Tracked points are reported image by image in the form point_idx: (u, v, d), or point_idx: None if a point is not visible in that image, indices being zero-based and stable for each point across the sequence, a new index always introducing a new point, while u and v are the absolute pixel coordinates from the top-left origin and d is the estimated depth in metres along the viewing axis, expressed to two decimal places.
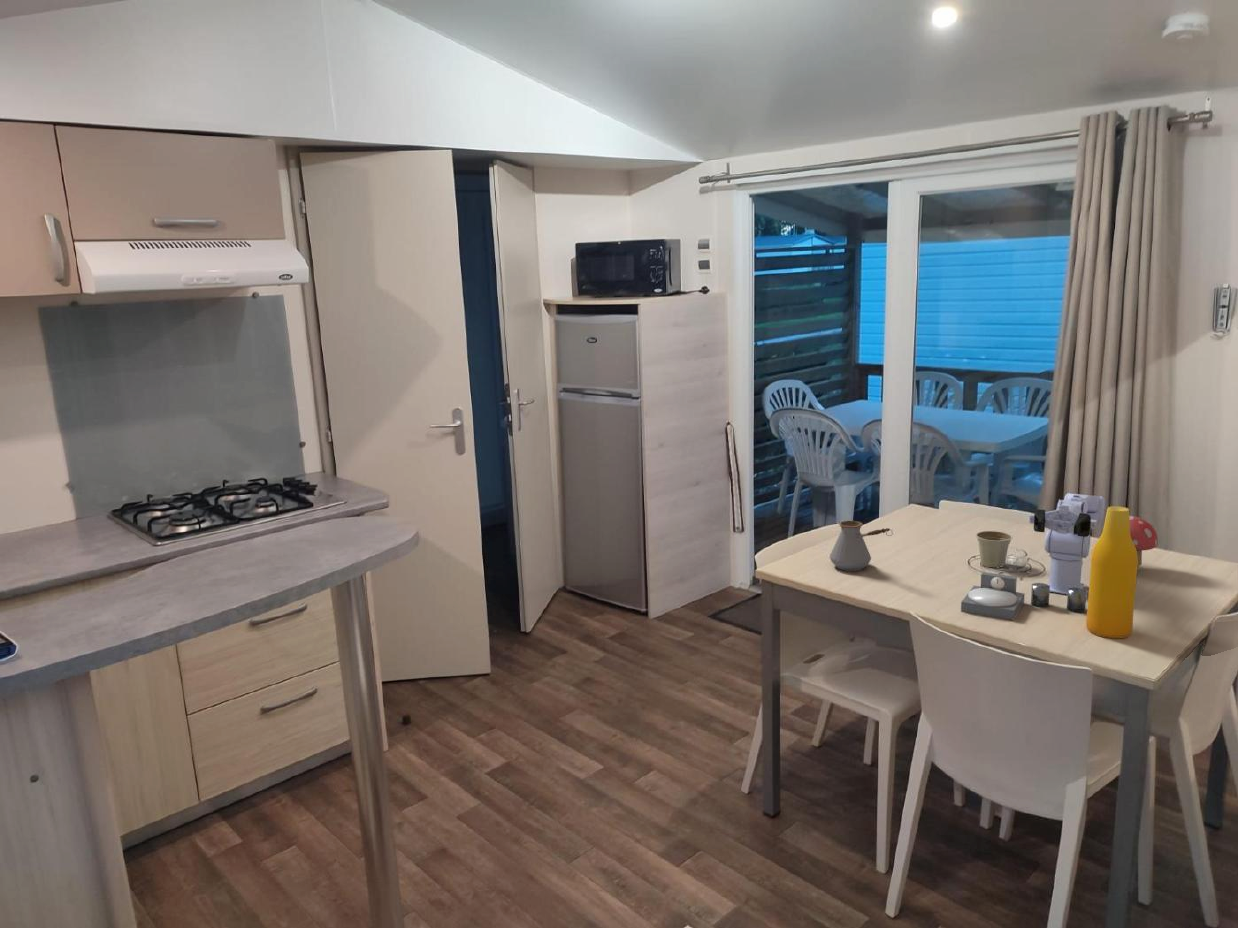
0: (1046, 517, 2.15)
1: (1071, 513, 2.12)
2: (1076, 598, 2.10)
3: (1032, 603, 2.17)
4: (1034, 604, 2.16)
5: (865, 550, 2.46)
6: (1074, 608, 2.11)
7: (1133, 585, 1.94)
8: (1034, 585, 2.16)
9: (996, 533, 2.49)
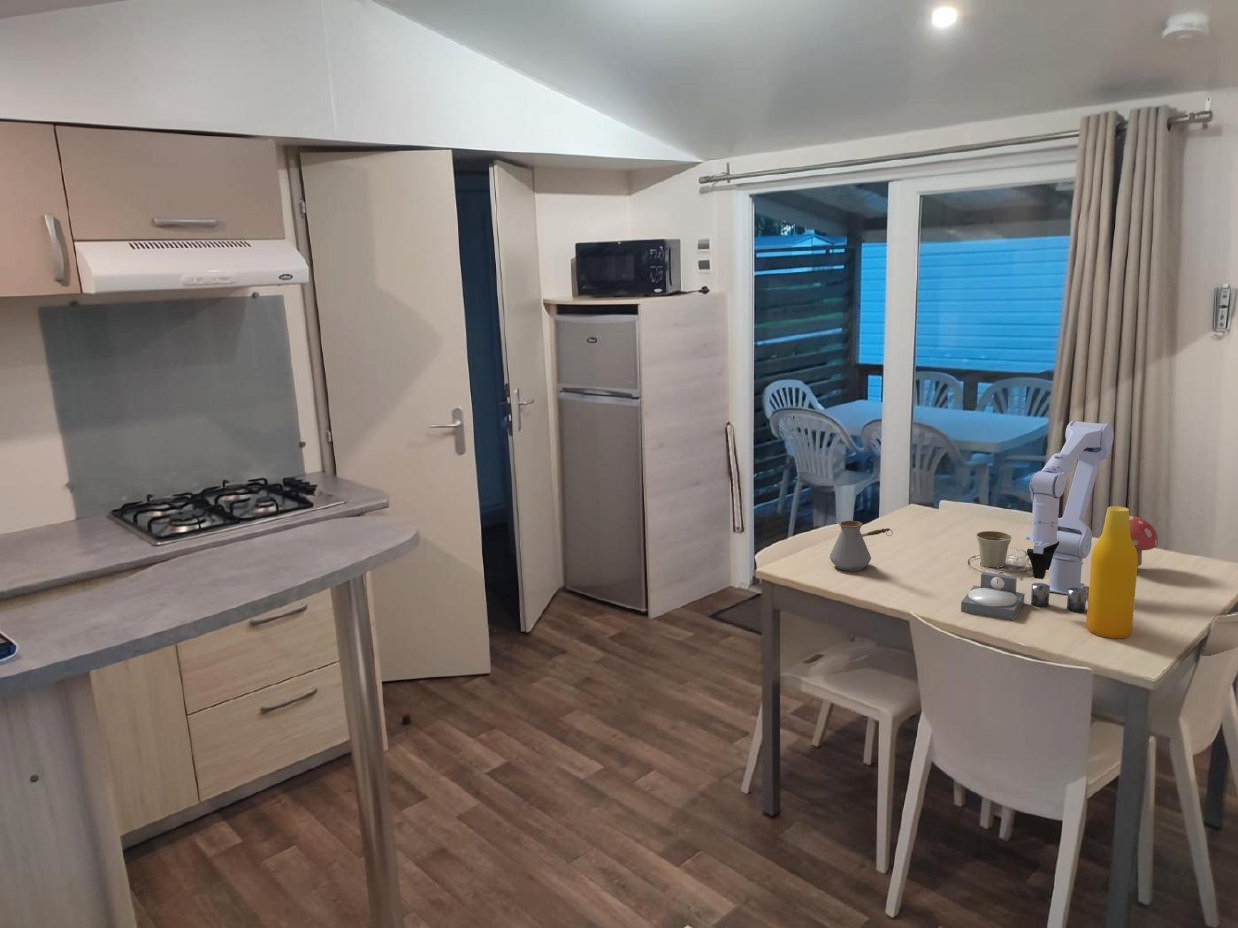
0: None
1: None
2: (1076, 598, 2.10)
3: (1032, 603, 2.17)
4: (1034, 604, 2.16)
5: (865, 550, 2.46)
6: (1074, 608, 2.11)
7: (1133, 585, 1.94)
8: (1034, 585, 2.16)
9: (996, 533, 2.49)
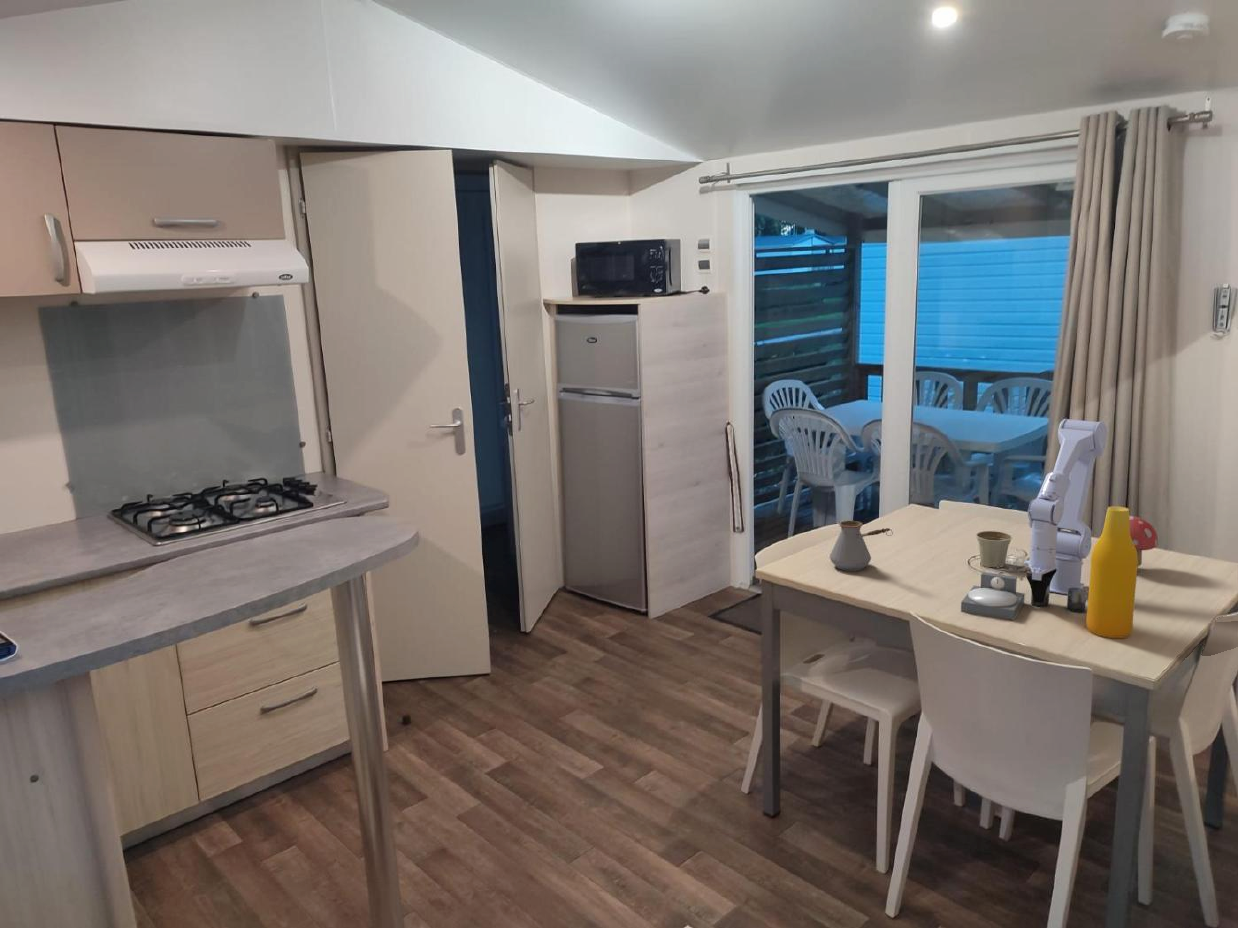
0: None
1: None
2: (1076, 598, 2.10)
3: (1032, 603, 2.17)
4: (1034, 604, 2.16)
5: (865, 550, 2.46)
6: (1074, 608, 2.11)
7: (1133, 585, 1.94)
8: None
9: (996, 533, 2.49)
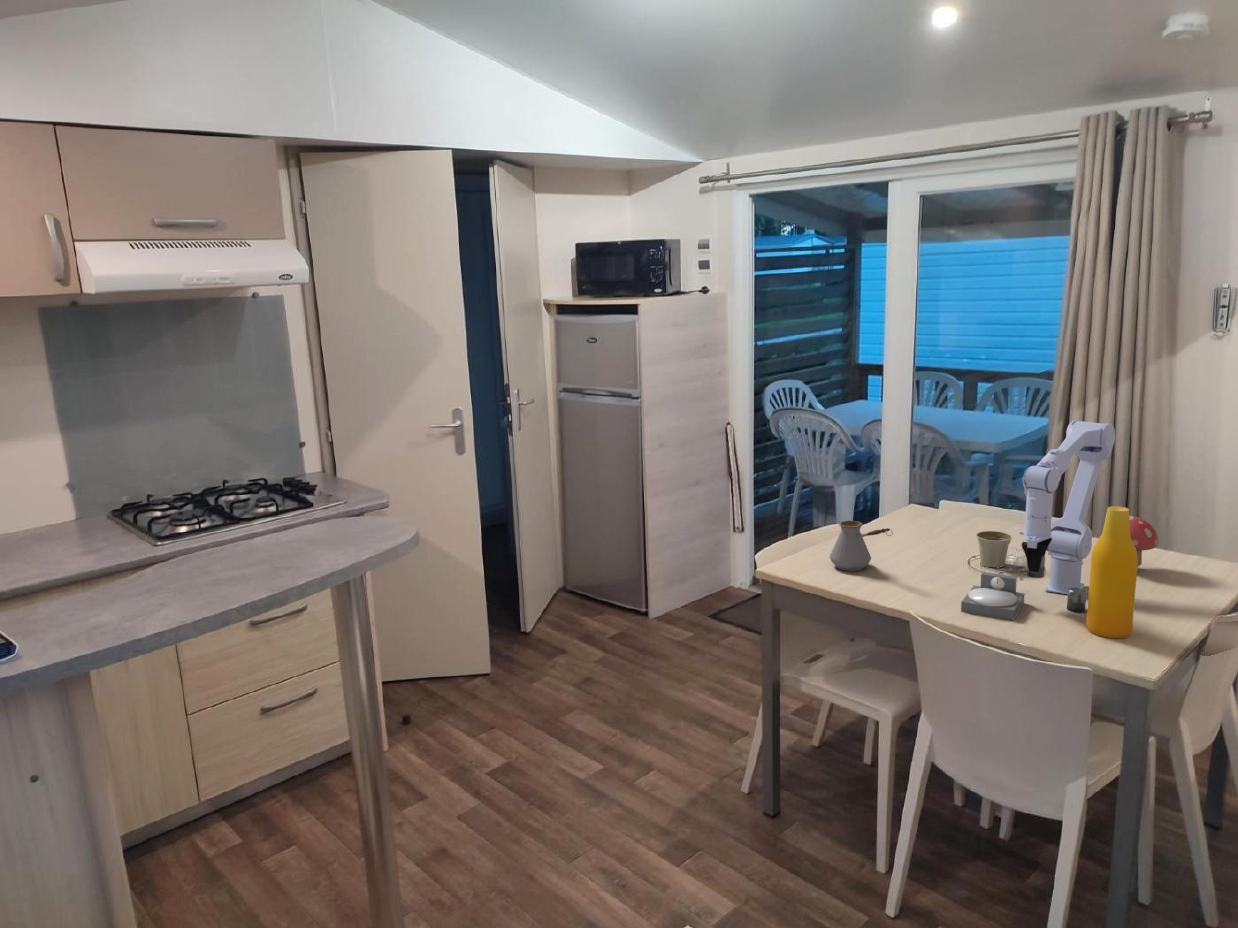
0: None
1: None
2: (1076, 598, 2.10)
3: (1027, 573, 2.15)
4: (1029, 574, 2.14)
5: (865, 550, 2.46)
6: (1074, 608, 2.11)
7: (1133, 585, 1.94)
8: None
9: (996, 533, 2.49)
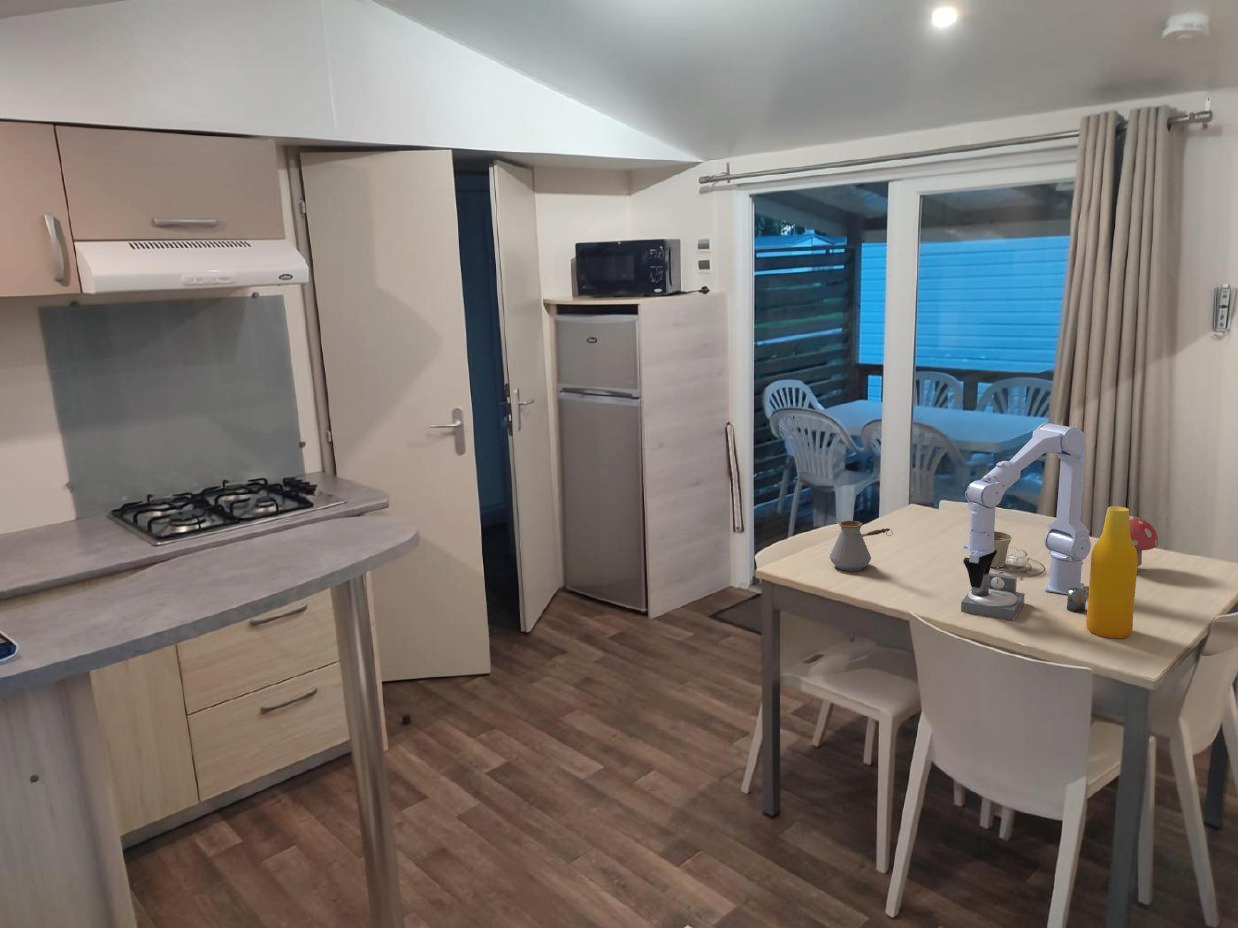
0: None
1: None
2: (1076, 598, 2.10)
3: (973, 592, 2.16)
4: (975, 593, 2.16)
5: (865, 550, 2.46)
6: (1074, 608, 2.11)
7: (1133, 585, 1.94)
8: None
9: (996, 533, 2.49)
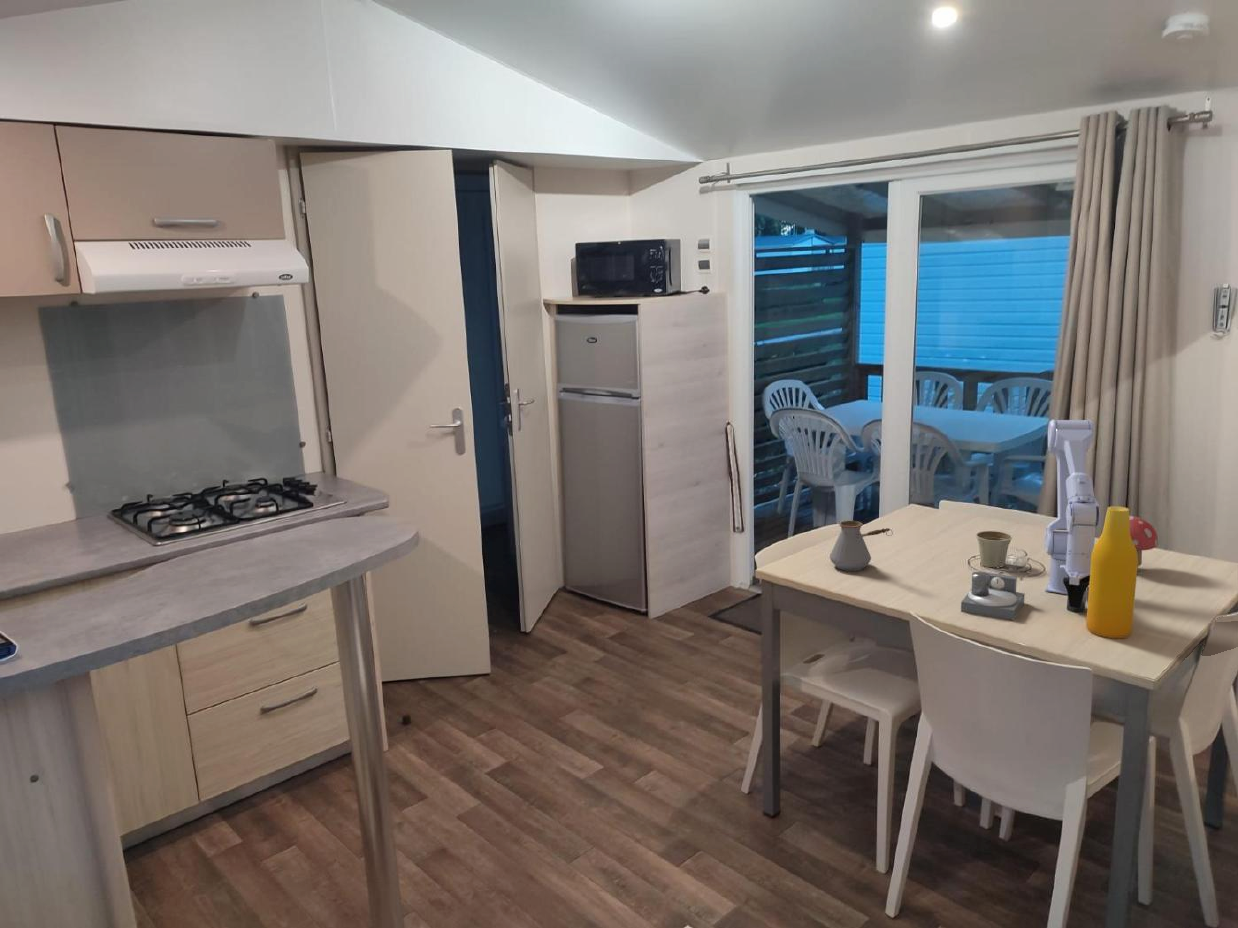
0: None
1: None
2: None
3: (973, 592, 2.16)
4: (975, 593, 2.16)
5: (865, 550, 2.46)
6: (1074, 608, 2.11)
7: (1133, 585, 1.94)
8: (974, 574, 2.16)
9: (996, 533, 2.49)
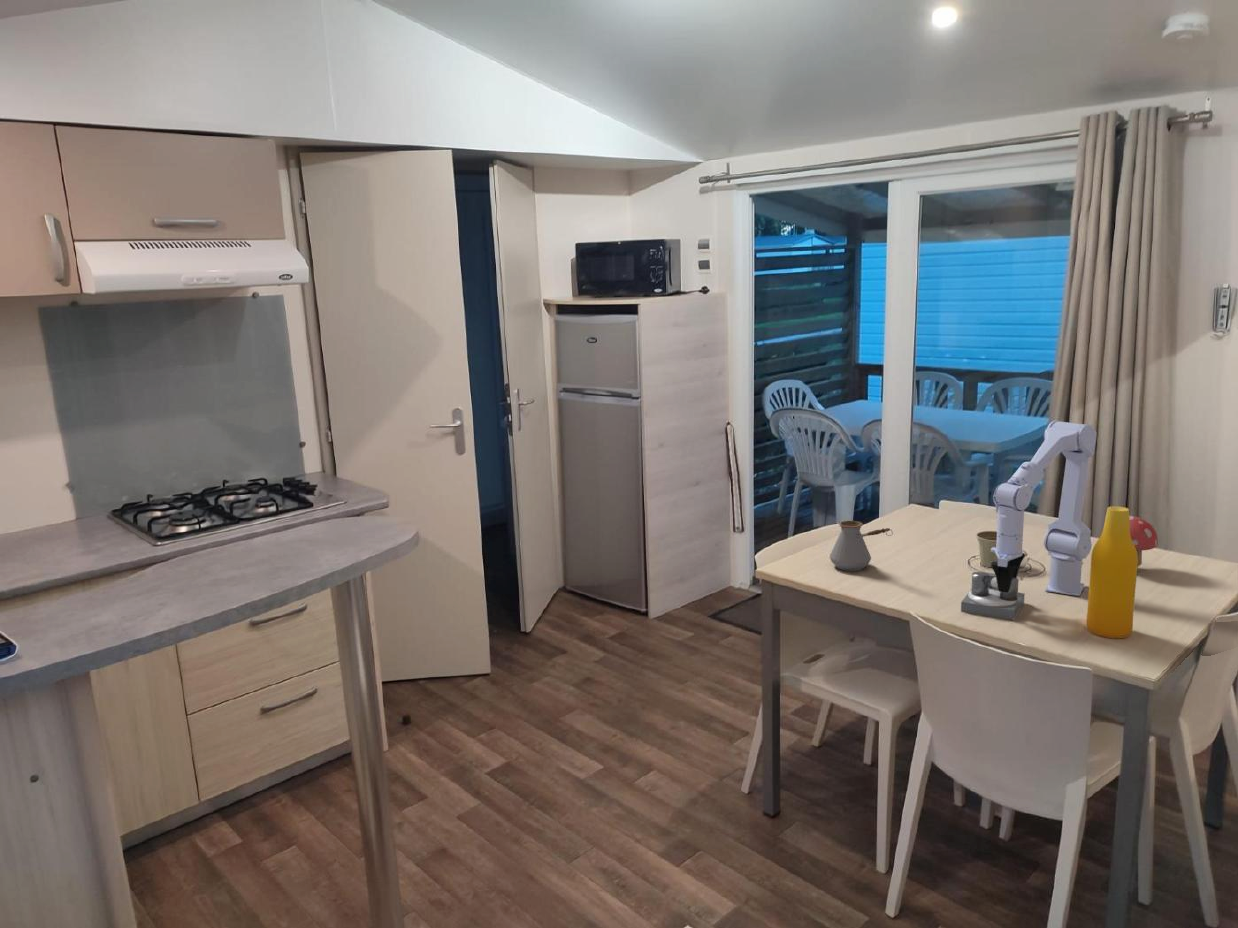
0: None
1: None
2: None
3: (973, 592, 2.16)
4: (975, 593, 2.16)
5: (865, 550, 2.46)
6: (1007, 596, 2.11)
7: (1133, 585, 1.94)
8: (974, 574, 2.16)
9: (996, 533, 2.49)
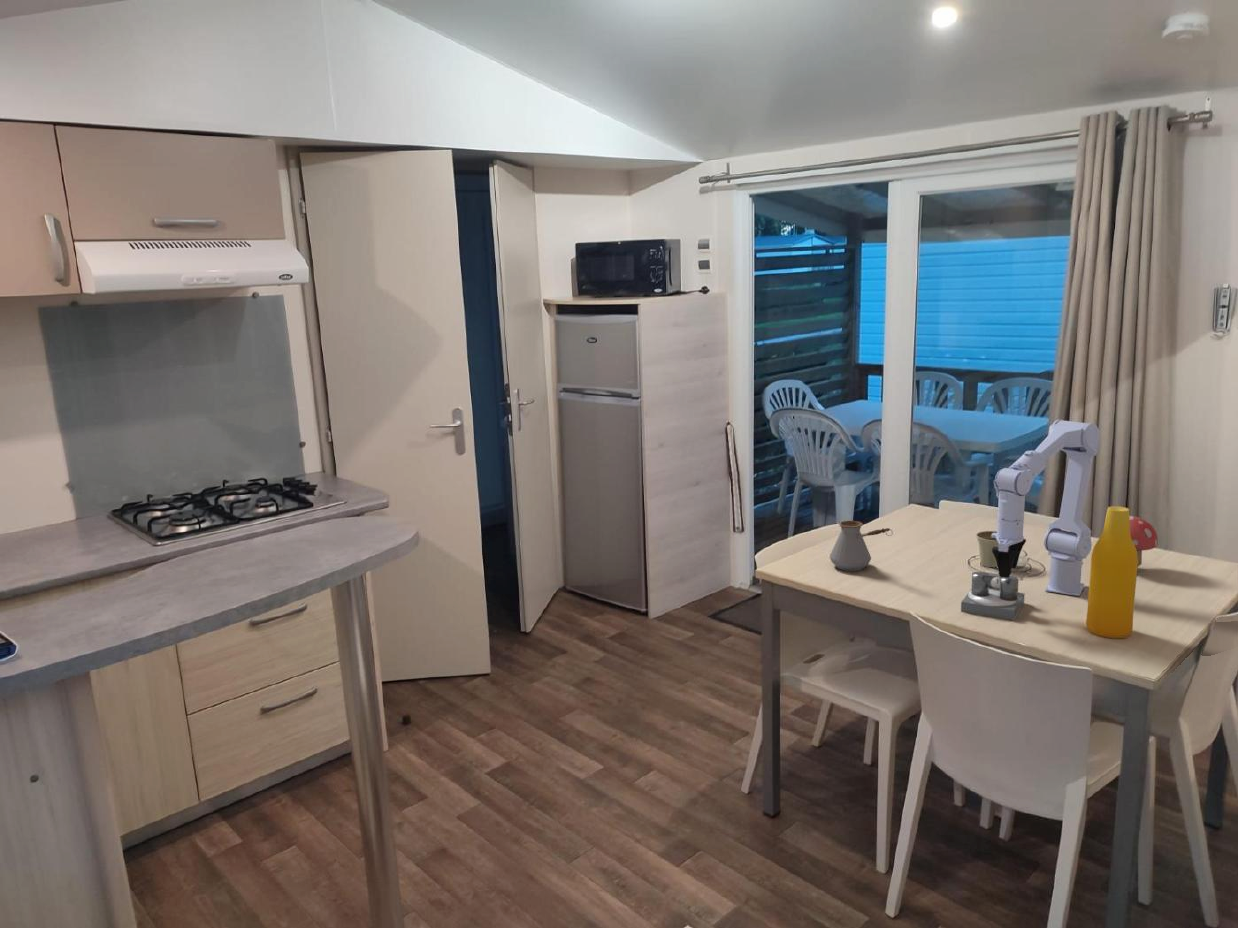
0: None
1: None
2: (1009, 586, 2.11)
3: (973, 592, 2.16)
4: (975, 593, 2.16)
5: (865, 550, 2.46)
6: (1007, 596, 2.11)
7: (1133, 585, 1.94)
8: (974, 574, 2.16)
9: None
